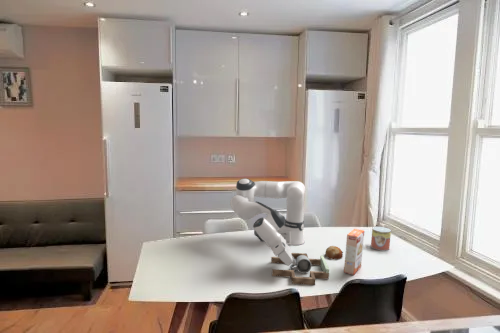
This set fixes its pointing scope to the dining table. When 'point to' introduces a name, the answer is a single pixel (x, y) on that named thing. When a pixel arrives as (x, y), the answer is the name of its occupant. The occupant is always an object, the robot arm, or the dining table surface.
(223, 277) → the dining table surface
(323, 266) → the sage end wall
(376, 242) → the canned food
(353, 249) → the cracker box
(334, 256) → the bread roll
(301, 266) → the ceramic mug
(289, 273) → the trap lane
